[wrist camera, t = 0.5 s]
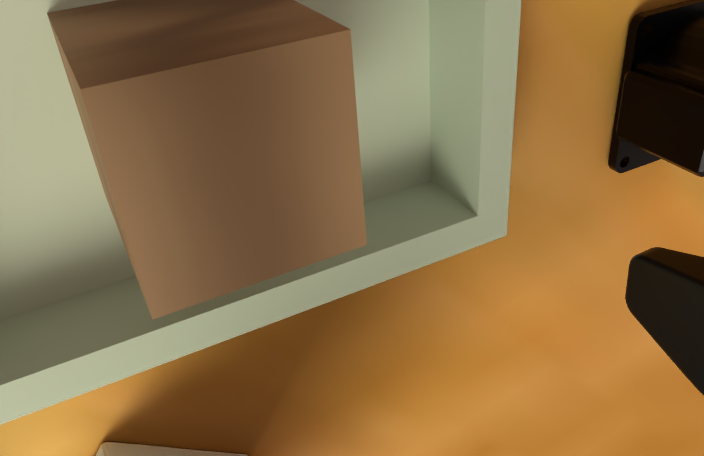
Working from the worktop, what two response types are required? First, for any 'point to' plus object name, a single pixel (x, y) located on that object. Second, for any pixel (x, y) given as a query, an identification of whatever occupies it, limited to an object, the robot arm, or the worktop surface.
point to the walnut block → (218, 138)
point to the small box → (152, 451)
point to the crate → (275, 293)
